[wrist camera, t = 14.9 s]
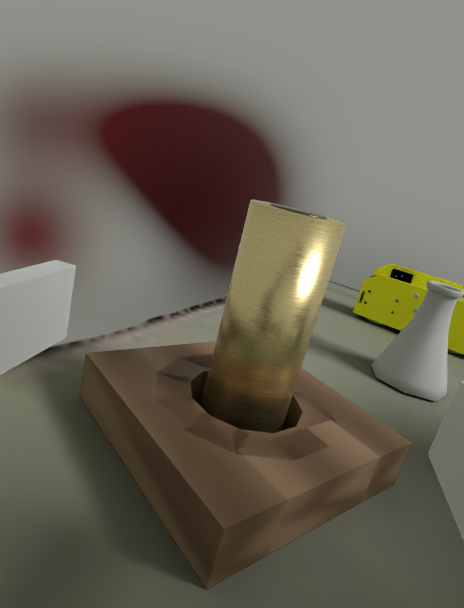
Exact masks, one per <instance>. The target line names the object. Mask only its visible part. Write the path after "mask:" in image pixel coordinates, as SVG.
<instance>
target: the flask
mask: <svg viewBox="0 0 464 608" xmlns="http://www.w3.org/2000/svg"><path fill="white" fill-rule="evenodd" d="M426 287H427V288H428V289H427V293H426V295H425V297H424V300H423V302H422V304H421V305H420V307H419V309H418V310H417V312H416V313H415V315H414V317H413V318H412V319H411V321H410V322H409V323H408V324H407V325H406V326H405V328H404V329H403V330H402V331H401V332H400V333H399V335H398V336H397V337H396V338H395V339H394V340H393V341H392V342H391V344H390V345H389V346H388V347H387V348H386V349H385V350H384V351H383V352H382V353H381V354H380V355H379V356H378V358H377V359H376V360H375V361H374V362H373V363H372V364H371V366H372V369H373V371H374V374H375V376H376V378H378V379H380V380H382V381H384V382H386V383H388V384H389V385H391V386H393V387H395V388H397V389H399V390H400V391H402V392H404V393H407V394H411V395H414V396H418V397H421V398H425V399H428V400H432V401H435V402H436V401H438V400H439V399H441V398H443V397H444V396H446V395H447V352H448V331H449V326H450V321H451V317H452V312H453V310H454V307H455V305H456V302H457V300H458V298H461V297H462V296H463V295H464V292H463V291H462V290H460V289H459V288H456V287H453V286H450V285H447V284H444V283H440V282H436V281H427V283H426Z"/></svg>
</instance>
